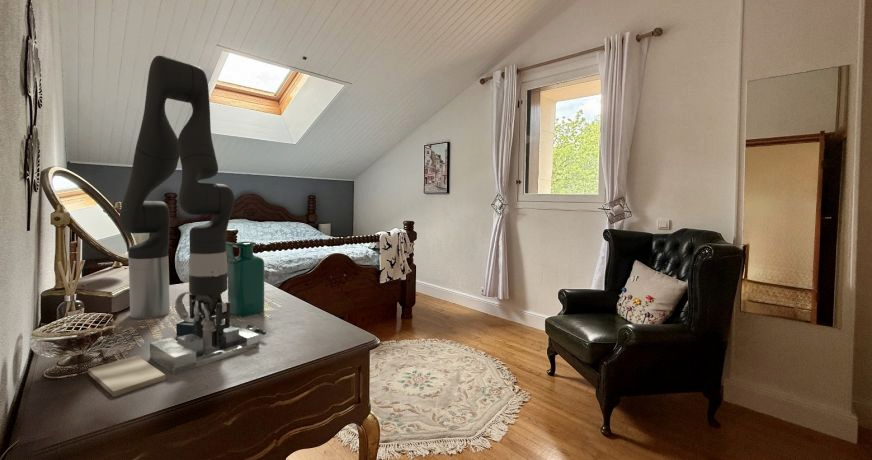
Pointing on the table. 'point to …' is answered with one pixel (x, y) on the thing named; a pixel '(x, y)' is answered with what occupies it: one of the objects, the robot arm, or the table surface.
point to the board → (126, 375)
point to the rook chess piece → (208, 338)
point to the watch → (184, 318)
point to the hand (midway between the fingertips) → (209, 341)
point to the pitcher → (245, 280)
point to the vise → (191, 348)
